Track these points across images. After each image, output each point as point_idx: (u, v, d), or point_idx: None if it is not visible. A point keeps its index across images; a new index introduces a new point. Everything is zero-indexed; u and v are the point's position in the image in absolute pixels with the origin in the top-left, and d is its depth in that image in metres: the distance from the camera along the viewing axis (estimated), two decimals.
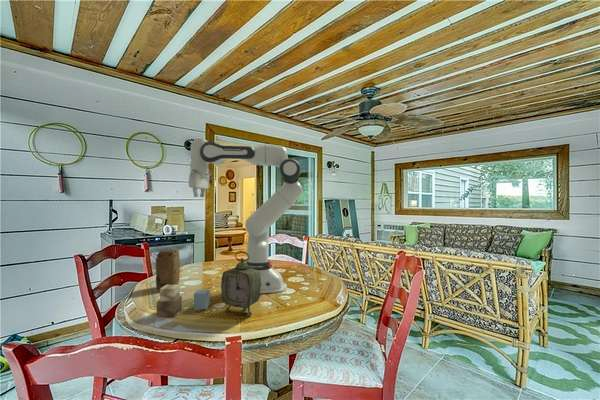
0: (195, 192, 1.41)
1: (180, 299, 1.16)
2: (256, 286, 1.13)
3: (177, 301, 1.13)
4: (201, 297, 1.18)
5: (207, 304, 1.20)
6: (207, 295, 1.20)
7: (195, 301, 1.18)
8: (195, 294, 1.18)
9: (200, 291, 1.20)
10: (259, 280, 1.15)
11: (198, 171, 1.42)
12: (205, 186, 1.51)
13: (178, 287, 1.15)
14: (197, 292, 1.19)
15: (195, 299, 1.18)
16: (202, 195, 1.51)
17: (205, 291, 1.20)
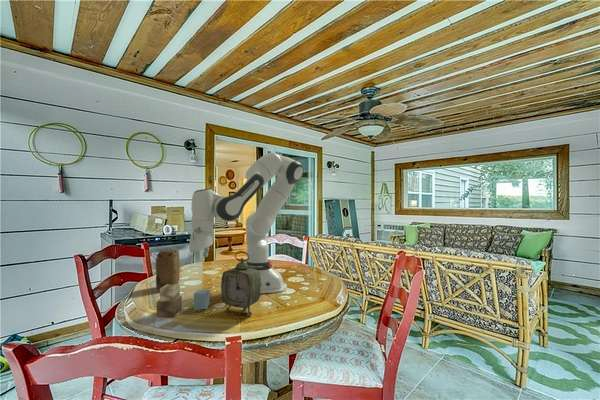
0: (197, 256, 1.14)
1: (180, 299, 1.16)
2: (256, 286, 1.13)
3: (177, 301, 1.13)
4: (201, 297, 1.18)
5: (207, 304, 1.20)
6: (207, 295, 1.20)
7: (195, 301, 1.18)
8: (195, 294, 1.18)
9: (200, 291, 1.20)
10: (259, 280, 1.15)
11: (201, 229, 1.16)
12: (209, 243, 1.25)
13: (178, 287, 1.16)
14: (197, 292, 1.19)
15: (195, 299, 1.18)
16: (205, 255, 1.24)
17: (205, 291, 1.20)
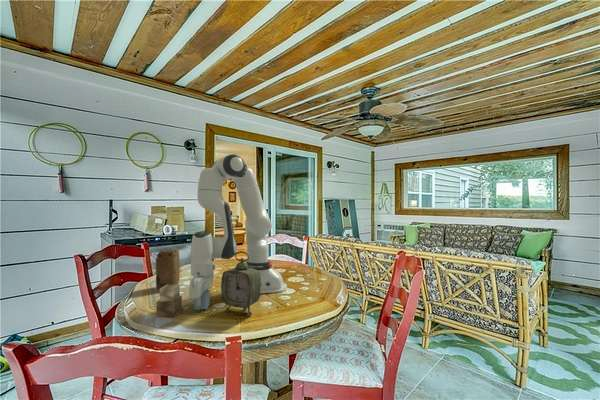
0: (198, 300, 1.16)
1: (180, 299, 1.16)
2: (256, 286, 1.13)
3: (177, 301, 1.13)
4: (201, 297, 1.18)
5: (207, 304, 1.20)
6: (207, 295, 1.20)
7: (195, 301, 1.18)
8: None
9: None
10: (259, 280, 1.15)
11: (201, 274, 1.16)
12: (209, 285, 1.25)
13: (178, 287, 1.15)
14: None
15: (195, 299, 1.18)
16: None
17: (205, 291, 1.20)
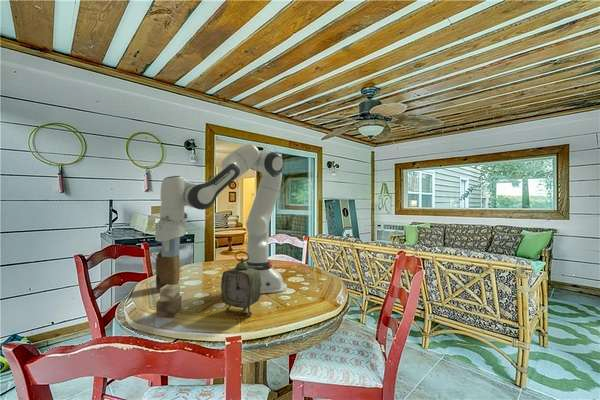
0: (166, 245, 1.09)
1: (180, 299, 1.16)
2: (256, 286, 1.13)
3: (177, 301, 1.13)
4: (169, 243, 1.11)
5: (176, 251, 1.14)
6: (177, 242, 1.14)
7: (163, 247, 1.11)
8: None
9: None
10: (259, 280, 1.15)
11: (170, 218, 1.10)
12: (180, 234, 1.18)
13: (178, 287, 1.15)
14: None
15: (163, 245, 1.11)
16: None
17: None
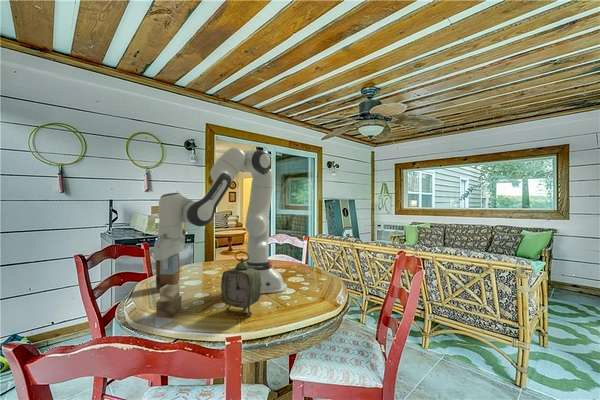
0: (165, 263, 1.10)
1: (180, 299, 1.16)
2: (256, 286, 1.13)
3: (177, 301, 1.13)
4: (168, 260, 1.11)
5: (175, 268, 1.14)
6: (175, 259, 1.14)
7: (161, 265, 1.11)
8: None
9: None
10: (259, 280, 1.15)
11: (167, 236, 1.10)
12: (178, 250, 1.18)
13: (178, 287, 1.15)
14: None
15: (161, 262, 1.11)
16: None
17: (173, 255, 1.14)
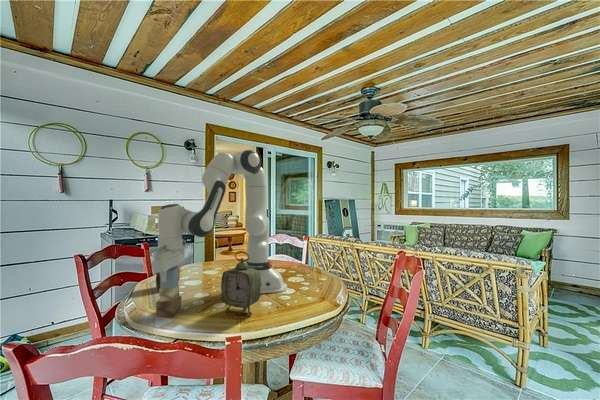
0: (163, 276, 1.08)
1: (180, 299, 1.16)
2: (256, 286, 1.13)
3: (177, 301, 1.13)
4: (168, 275, 1.11)
5: (175, 282, 1.14)
6: (175, 273, 1.14)
7: None
8: None
9: None
10: (259, 280, 1.15)
11: (167, 248, 1.10)
12: (178, 261, 1.18)
13: (177, 287, 1.15)
14: None
15: None
16: None
17: (173, 269, 1.14)
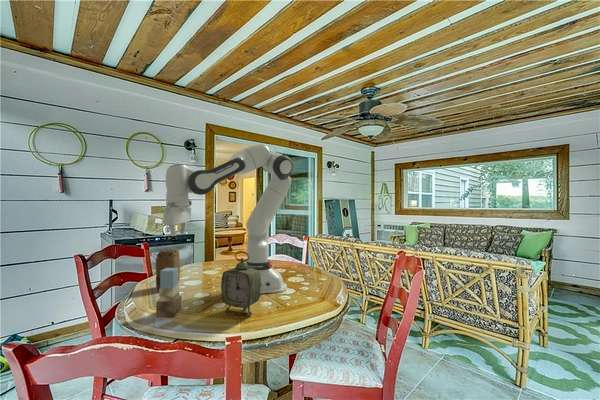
0: (172, 230, 1.15)
1: (180, 299, 1.16)
2: (256, 286, 1.13)
3: (177, 301, 1.13)
4: (168, 275, 1.11)
5: (175, 282, 1.14)
6: (175, 273, 1.14)
7: (162, 279, 1.11)
8: (162, 272, 1.11)
9: (168, 269, 1.14)
10: (259, 280, 1.15)
11: (175, 204, 1.17)
12: (186, 220, 1.25)
13: (177, 287, 1.15)
14: (164, 270, 1.13)
15: (162, 277, 1.11)
16: (182, 231, 1.25)
17: (173, 269, 1.14)
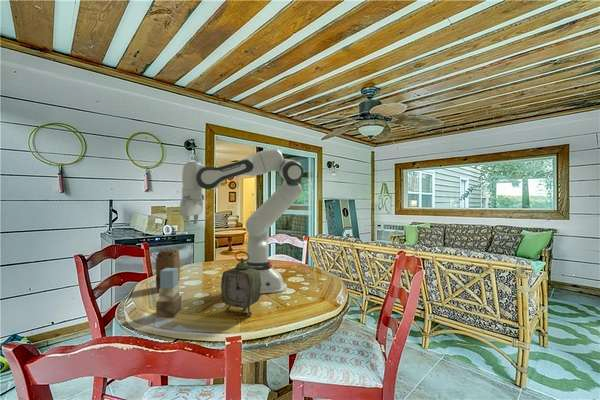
0: (187, 220, 1.29)
1: (180, 299, 1.16)
2: (256, 286, 1.13)
3: (177, 301, 1.13)
4: (168, 275, 1.11)
5: (175, 283, 1.14)
6: (175, 273, 1.14)
7: (161, 279, 1.11)
8: (161, 272, 1.11)
9: (168, 269, 1.14)
10: (259, 280, 1.15)
11: (190, 197, 1.31)
12: (198, 212, 1.39)
13: (177, 287, 1.15)
14: (164, 270, 1.13)
15: (161, 277, 1.11)
16: (195, 222, 1.39)
17: (173, 269, 1.14)
